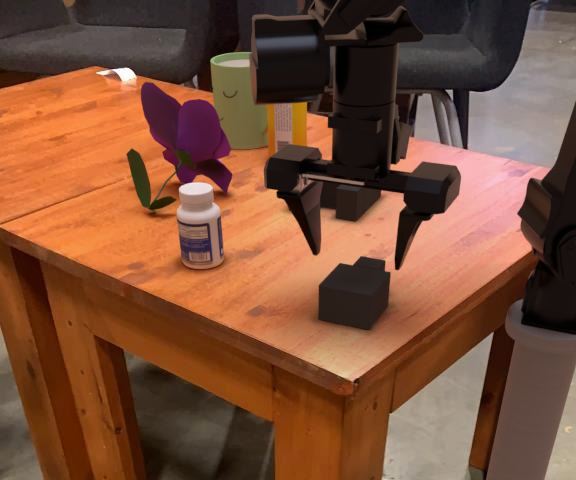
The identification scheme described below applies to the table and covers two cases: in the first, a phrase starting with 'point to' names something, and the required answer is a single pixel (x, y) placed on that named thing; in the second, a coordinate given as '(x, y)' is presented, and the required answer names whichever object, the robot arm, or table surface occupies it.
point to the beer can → (286, 125)
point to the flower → (181, 143)
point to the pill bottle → (199, 227)
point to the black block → (355, 293)
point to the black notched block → (347, 199)
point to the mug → (238, 102)
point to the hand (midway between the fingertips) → (356, 261)
